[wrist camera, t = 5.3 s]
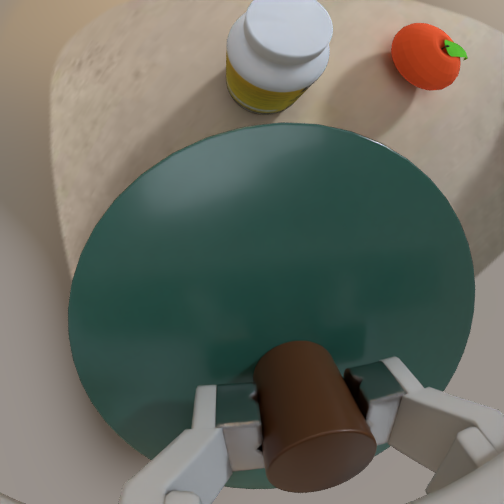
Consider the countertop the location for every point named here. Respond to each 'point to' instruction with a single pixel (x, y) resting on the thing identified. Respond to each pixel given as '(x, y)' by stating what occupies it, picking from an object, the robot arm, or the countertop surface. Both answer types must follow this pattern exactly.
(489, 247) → the countertop surface
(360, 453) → the lid
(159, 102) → the countertop surface
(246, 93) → the pill bottle
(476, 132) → the countertop surface
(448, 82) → the clementine
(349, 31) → the countertop surface
